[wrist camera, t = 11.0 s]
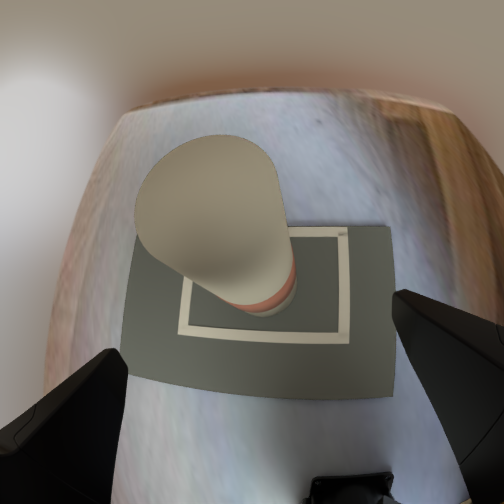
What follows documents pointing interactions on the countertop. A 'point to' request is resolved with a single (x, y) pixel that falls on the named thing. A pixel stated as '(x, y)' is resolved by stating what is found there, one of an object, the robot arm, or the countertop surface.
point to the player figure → (220, 222)
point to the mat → (273, 324)
